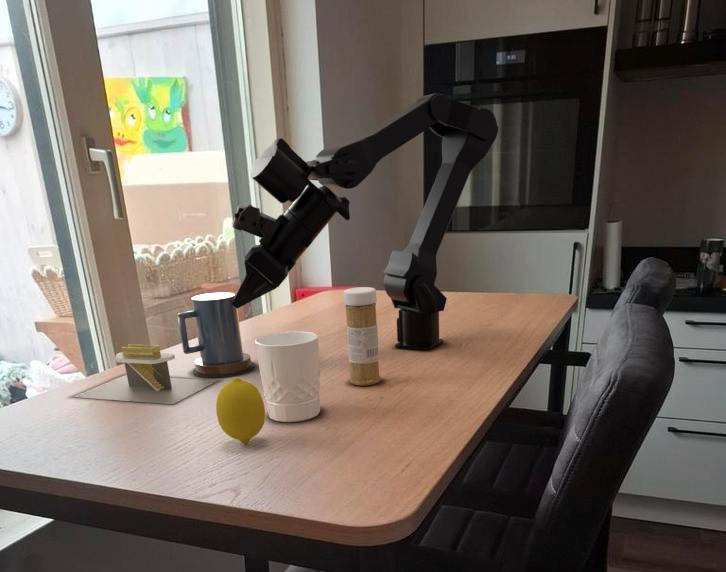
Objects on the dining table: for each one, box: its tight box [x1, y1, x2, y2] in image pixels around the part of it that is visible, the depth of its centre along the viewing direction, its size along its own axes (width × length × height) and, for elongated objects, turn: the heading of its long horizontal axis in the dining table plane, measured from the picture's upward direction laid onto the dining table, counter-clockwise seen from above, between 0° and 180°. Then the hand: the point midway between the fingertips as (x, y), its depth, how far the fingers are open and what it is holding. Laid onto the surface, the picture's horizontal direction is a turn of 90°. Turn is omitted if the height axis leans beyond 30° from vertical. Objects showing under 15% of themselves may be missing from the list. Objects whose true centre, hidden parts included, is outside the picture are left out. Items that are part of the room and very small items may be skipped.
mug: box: [177, 292, 252, 375], centre depth 112 cm, size 11×9×12 cm
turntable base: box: [192, 361, 256, 379], centre depth 115 cm, size 10×10×1 cm
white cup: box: [254, 330, 321, 423], centre depth 89 cm, size 8×8×10 cm
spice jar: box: [343, 286, 381, 386], centre depth 100 cm, size 5×5×13 cm
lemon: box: [215, 376, 266, 444], centre depth 81 cm, size 6×6×8 cm
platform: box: [73, 343, 218, 405], centre depth 105 cm, size 12×18×7 cm, turn 68°
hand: (239, 301), depth 110 cm, fingers open, 9 cm apart
